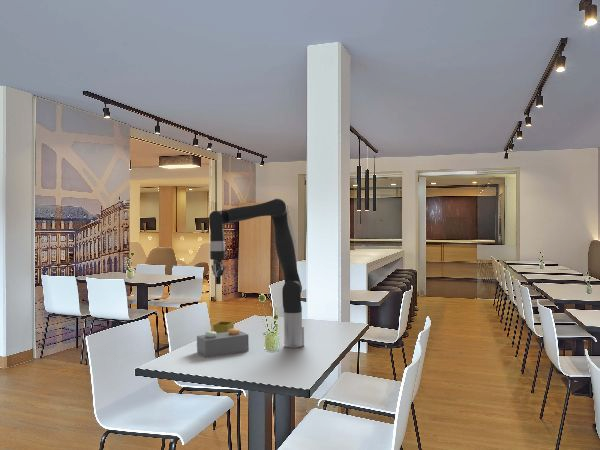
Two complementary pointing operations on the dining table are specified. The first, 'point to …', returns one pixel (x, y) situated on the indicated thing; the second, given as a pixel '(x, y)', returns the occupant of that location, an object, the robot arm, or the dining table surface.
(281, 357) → the dining table surface
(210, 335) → the sage button
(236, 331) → the orange button
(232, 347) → the block
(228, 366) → the dining table surface
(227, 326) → the flower pot
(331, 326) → the dining table surface
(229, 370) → the dining table surface
